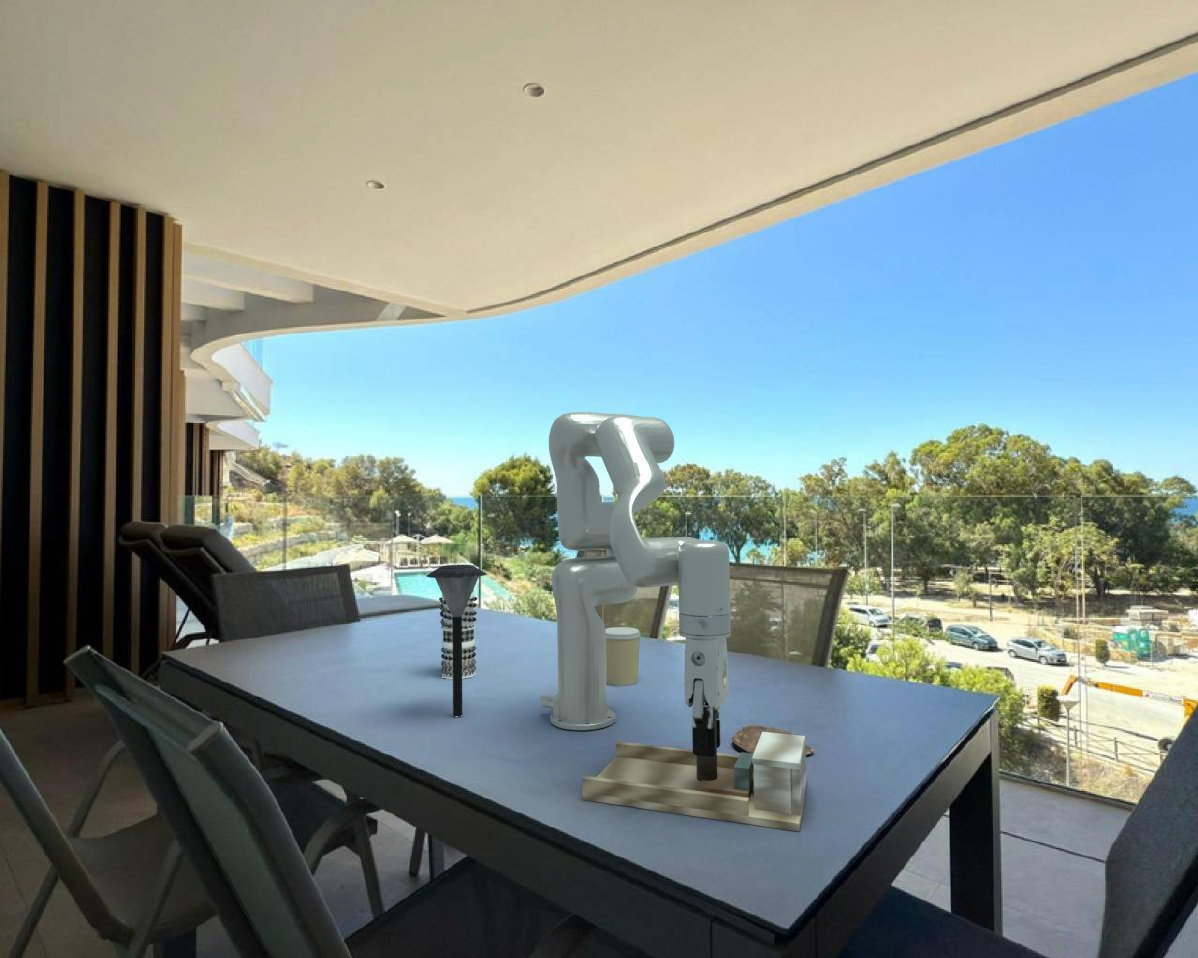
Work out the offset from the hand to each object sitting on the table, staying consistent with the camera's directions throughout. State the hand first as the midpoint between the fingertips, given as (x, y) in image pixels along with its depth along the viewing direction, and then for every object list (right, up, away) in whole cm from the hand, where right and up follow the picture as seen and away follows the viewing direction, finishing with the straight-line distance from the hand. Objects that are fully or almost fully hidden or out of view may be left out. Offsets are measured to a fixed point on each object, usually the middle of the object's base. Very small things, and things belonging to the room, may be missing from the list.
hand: (706, 749), depth 102 cm
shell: (+13, -7, +18) cm, 24 cm away
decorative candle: (-50, -9, +69) cm, 86 cm away
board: (-1, -6, 0) cm, 6 cm away
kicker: (+2, -5, -1) cm, 6 cm away
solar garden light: (-44, -8, +37) cm, 58 cm away
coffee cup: (-10, -8, +62) cm, 64 cm away
